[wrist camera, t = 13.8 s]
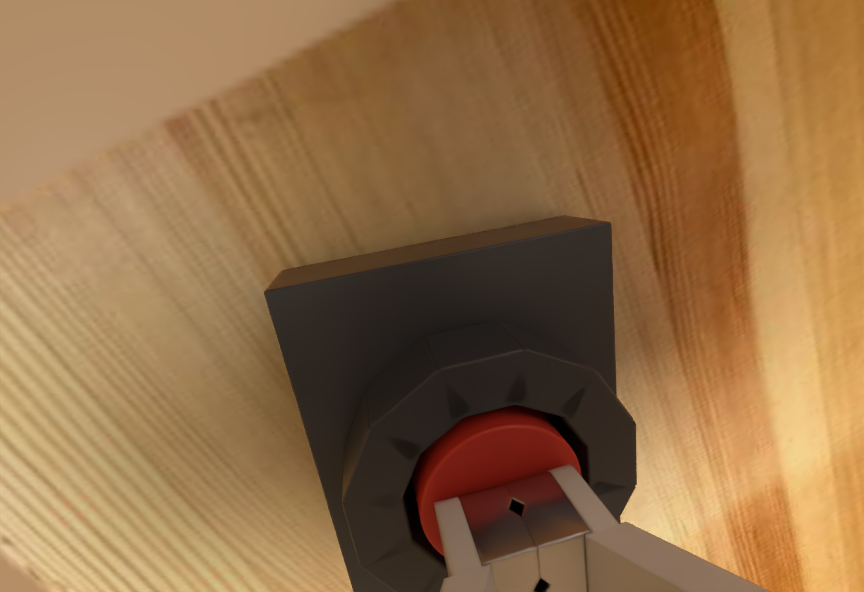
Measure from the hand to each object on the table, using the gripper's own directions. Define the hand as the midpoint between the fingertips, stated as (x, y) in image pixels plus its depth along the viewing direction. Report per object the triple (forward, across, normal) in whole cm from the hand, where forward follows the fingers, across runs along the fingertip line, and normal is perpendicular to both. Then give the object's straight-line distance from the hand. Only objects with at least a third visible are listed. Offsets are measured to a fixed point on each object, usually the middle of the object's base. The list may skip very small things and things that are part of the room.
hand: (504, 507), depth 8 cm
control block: (+4, 0, 0) cm, 4 cm away
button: (+2, 0, 0) cm, 2 cm away
